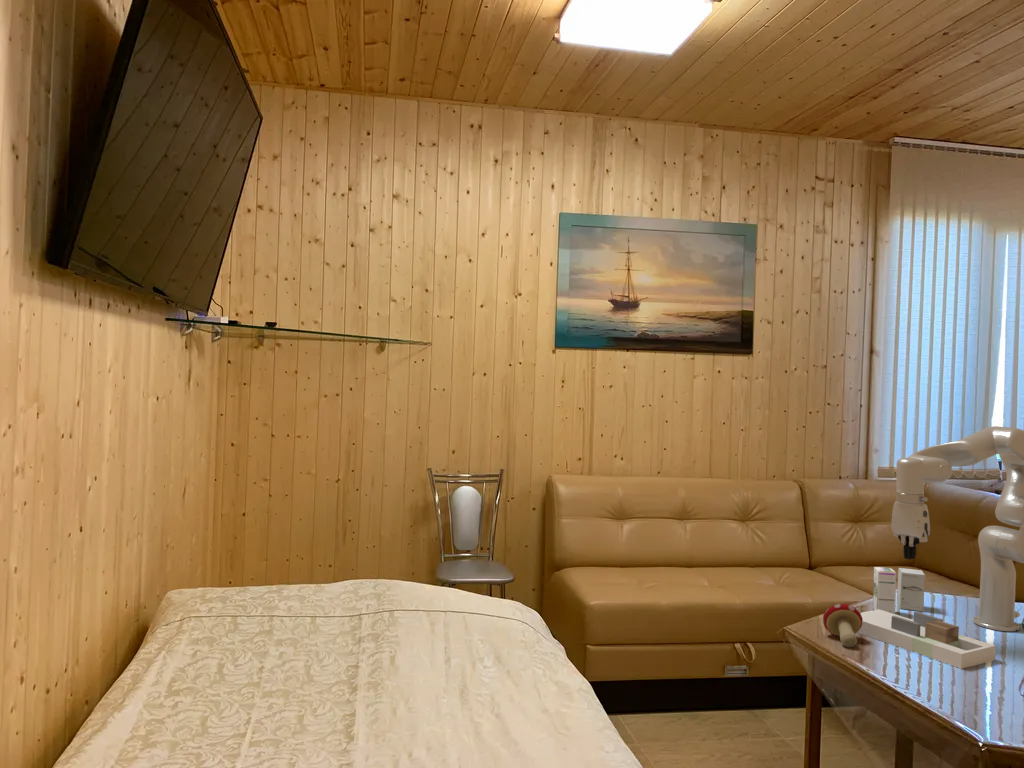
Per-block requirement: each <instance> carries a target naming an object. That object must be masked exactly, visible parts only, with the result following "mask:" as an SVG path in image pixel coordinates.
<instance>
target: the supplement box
mask: <svg viewBox="0 0 1024 768" xmlns="http://www.w3.org/2000/svg"><path fill="white" fill-rule="evenodd" d="M925 581H926V574H925V573H924V572H923V570H921V569H920V570H919V569H913V568H903V567H898V572H897V591H896V592H897V593H896V596H897V597H896V604H897V606H898V608H899V609H900V610H909V611H915V612H921V613H922V612H924V603H925V584H926V583H925Z"/></svg>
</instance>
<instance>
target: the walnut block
mask: <svg viewBox="0 0 1024 768" xmlns="http://www.w3.org/2000/svg"><path fill="white" fill-rule="evenodd" d="M959 632H960V626H957V625H955V624H951V623H949V622H946V621H943V622H942V621H939V620H938V621H933V622H928V623H925V637H927V638H930V639H933V640H936V641H939V642H942V643H945V644H946V643H951V642H955V641H958V637H959V634H960V633H959Z"/></svg>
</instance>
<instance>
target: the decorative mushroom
mask: <svg viewBox="0 0 1024 768" xmlns="http://www.w3.org/2000/svg"><path fill="white" fill-rule="evenodd" d="M861 613H862V612H860V611H859V610H858V609H857V608H856V607H854V606H852V605H850V604H847V603H837V604H833V605H832V606H830V607H828V608H827V609H826V610H825V612H824V613H823V616H822V617H823V618H822V623H823V626H824V628H825V629H826V630H827V632H829V633H830V634H832V636H833V635H834V636H836V637H839V639H840V642H841V644H842V645H843V646H844V647H846V648H853V647H855V646H856V644H857V643H858V639H857V638H858V637H857V636H856V634H858V633H857V632H858V631H859V630H860V628H861V627H862V620H863V619H862V616H861Z"/></svg>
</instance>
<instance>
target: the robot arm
mask: <svg viewBox="0 0 1024 768" xmlns="http://www.w3.org/2000/svg"><path fill="white" fill-rule="evenodd" d="M995 455H998V456H999V458H1000V461H1001V462H1002V464H1003V466H1004V468H1005V472H1006V479H1005V483H1004V486H1003V489H1002V491H1001V493H1000V496H999V498H998V501H997V504H996V506H995V509H994V510H995V512H994V514H995V515H994V516H995V518H996V519H997V520H998V521H999V522H1001V523H1003V524H1006V525H1010V526H1014V527H1019V530H1018V529H1014V528H1010V527H1006V526H1002V525H1001V526H1000V525H987V526H985V527H984V528H982V529H981V530H980V531H979V533H978V537H977V540H978V541H977V542H978V543H977V544H978V548H979V554H980V578H979V581H980V583H979V584H980V585H979V605H978V615H975V616H974V617H973V619H972V622H973V623H974V624H976V625H977V626H979V627H982V628H986V629H989V630H993V631H1001V632H1017V631H1016V630H1018V631H1019V630H1020V627H1021V626H1020V624H1019V623H1017V622H1016V621H1015V619H1016V618H1020V617H1021V616H1020V615H1021V614H1020V612H1019V611H1017V610H1016V611H1015V607H1016V601H1015V600H1016V583H1017V582H1016V581H1017V571H1016V567H1015V564H1014V562H1017V563H1021V564H1024V429H1021V428H1017V427H1007V426H988V427H986V428H984V429H981V430H979V431H977V432H975V433H972V434H970V435H968V436H966V437H963V438H961V439H958V440H953V441H950V442H945V443H942V444H937V445H933V446H932V445H931V446H929V447H925V448H923V449H920V450H919V451H916V452H914V453H912V454H910V455H909V456H907V457H902V458H899V459H897V461H896V476H895V477H896V483H895V485H896V492H895V493H896V495H895V496H896V498H895V499H896V500H895V501H894V503H893V507H892V513H891V531H892V536H893V537H895V538H897V539H898V540H899V541H900V542H901V545H902V546H903V558H904V559H905V560H914V559H915V558H916V557H917V556H916V555H917V546H918V545H919V544H920V543H927V542H928V541H929V540H928V537H929V536H930V534H931V522H930V514H929V508H928V505H927V504H925V502H928V497H926V496H925V482H929V483H938V484H939V483H943V482H946V481H948V480H949V479H950V478H951V476H952V474H953V467H954V468H955V467H958V468H959V467H961V468H962V467H969V466H974V465H977V464H978V463H981V462H983V461H985V460H987V459H989V458H991V457H993V456H995Z"/></svg>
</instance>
